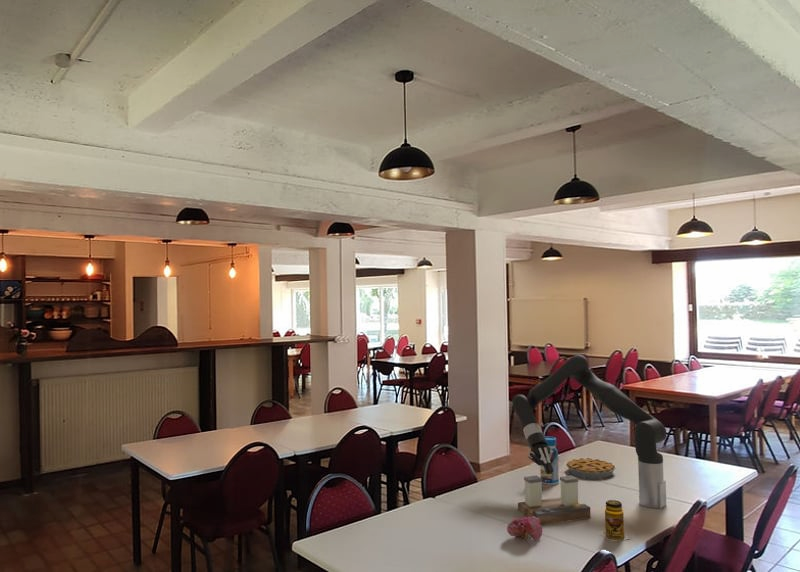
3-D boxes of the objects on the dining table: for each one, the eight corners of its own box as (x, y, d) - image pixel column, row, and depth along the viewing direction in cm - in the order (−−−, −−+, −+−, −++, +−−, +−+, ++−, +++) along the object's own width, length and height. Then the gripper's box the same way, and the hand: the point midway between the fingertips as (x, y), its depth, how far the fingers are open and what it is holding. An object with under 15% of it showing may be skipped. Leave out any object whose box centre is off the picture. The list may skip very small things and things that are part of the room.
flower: (512, 544, 203) (520, 516, 208) (538, 553, 197) (546, 524, 202) (500, 534, 196) (509, 505, 200) (527, 543, 190) (536, 513, 194)
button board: (517, 510, 227) (517, 498, 227) (567, 504, 233) (566, 492, 233) (538, 525, 212) (538, 512, 212) (590, 517, 218) (590, 505, 218)
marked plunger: (560, 503, 225) (559, 476, 225) (572, 501, 226) (571, 475, 226) (566, 507, 220) (565, 480, 221) (579, 505, 222) (578, 478, 222)
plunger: (524, 503, 226) (524, 476, 226) (537, 501, 227) (536, 475, 227) (530, 507, 221) (529, 480, 222) (542, 505, 223) (542, 478, 223)
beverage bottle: (561, 485, 257) (560, 440, 258) (542, 485, 257) (541, 440, 258) (556, 479, 266) (555, 435, 266) (538, 479, 266) (537, 435, 266)
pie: (557, 470, 281) (557, 460, 281) (591, 464, 290) (591, 454, 290) (589, 482, 261) (589, 471, 261) (625, 475, 270) (625, 465, 270)
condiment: (612, 542, 196) (611, 506, 196) (597, 533, 204) (596, 498, 204) (630, 539, 198) (629, 503, 198) (614, 530, 206) (613, 496, 206)
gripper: (545, 440, 253) (561, 476, 240) (518, 442, 249) (533, 479, 237) (551, 430, 248) (568, 466, 235) (523, 432, 244) (539, 470, 232)
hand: (550, 473), depth 236 cm, fingers closed
